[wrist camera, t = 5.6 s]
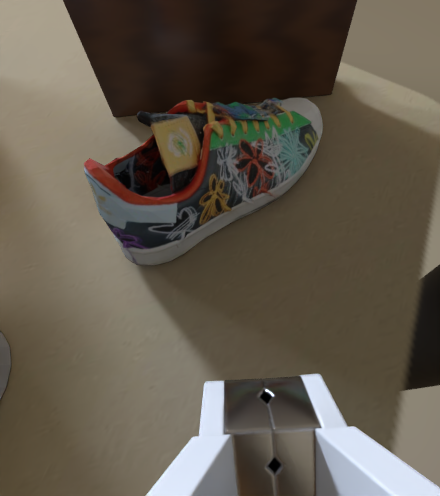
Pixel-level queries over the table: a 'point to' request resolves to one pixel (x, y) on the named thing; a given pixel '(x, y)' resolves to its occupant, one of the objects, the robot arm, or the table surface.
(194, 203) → the sneaker
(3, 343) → the lava lamp
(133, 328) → the table surface
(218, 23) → the wooden wall shelf
